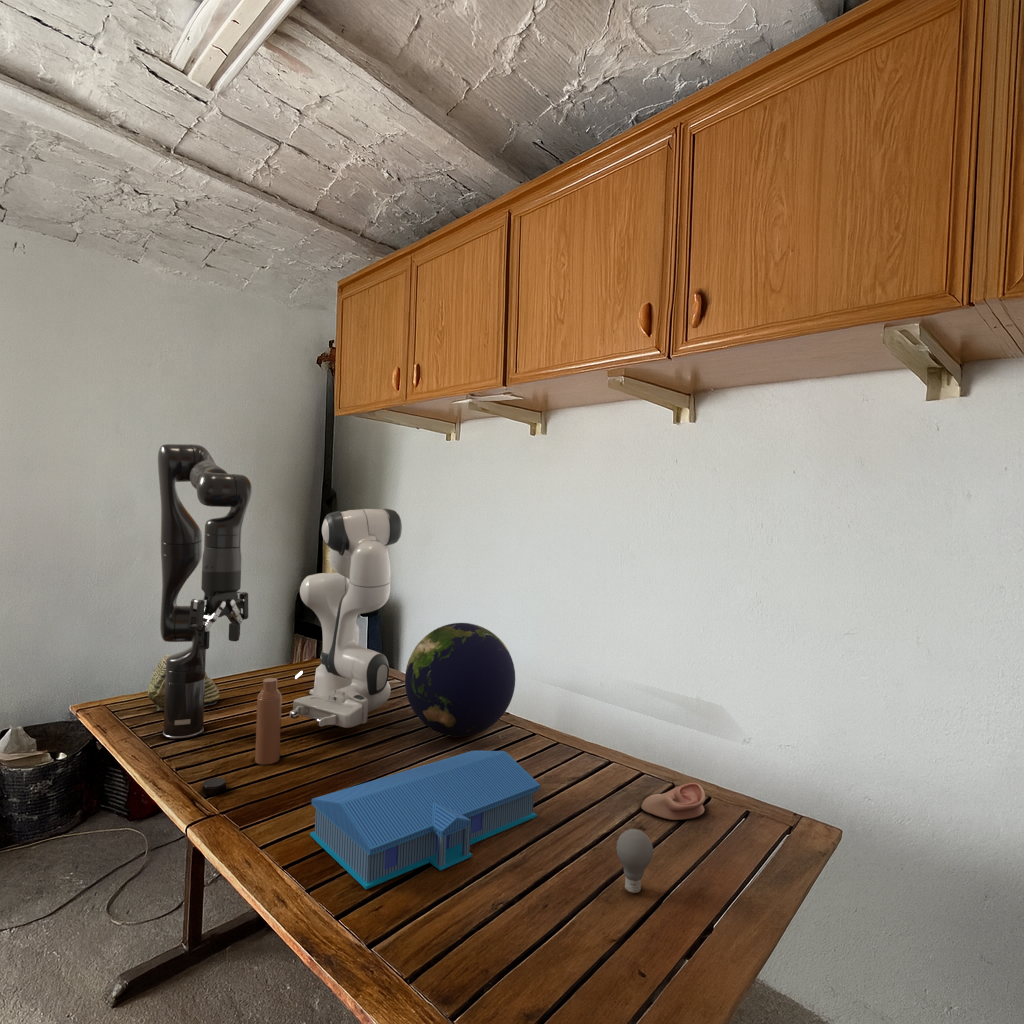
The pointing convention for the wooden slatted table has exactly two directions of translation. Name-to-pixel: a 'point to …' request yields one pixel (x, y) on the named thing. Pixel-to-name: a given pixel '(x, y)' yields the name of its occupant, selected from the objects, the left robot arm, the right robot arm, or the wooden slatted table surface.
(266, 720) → the bottle
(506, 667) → the globe
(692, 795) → the anatomical model
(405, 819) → the model building
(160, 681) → the fossil
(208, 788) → the cap
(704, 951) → the wooden slatted table surface
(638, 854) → the light bulb
